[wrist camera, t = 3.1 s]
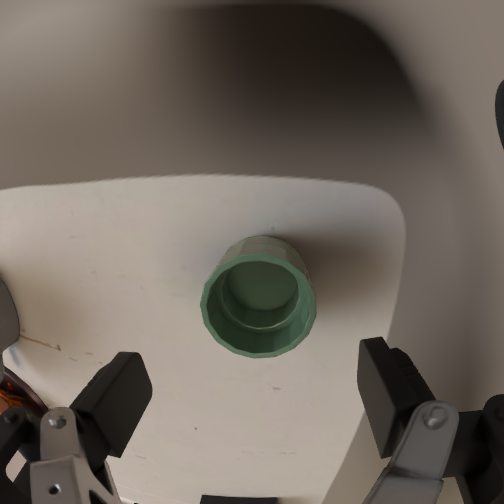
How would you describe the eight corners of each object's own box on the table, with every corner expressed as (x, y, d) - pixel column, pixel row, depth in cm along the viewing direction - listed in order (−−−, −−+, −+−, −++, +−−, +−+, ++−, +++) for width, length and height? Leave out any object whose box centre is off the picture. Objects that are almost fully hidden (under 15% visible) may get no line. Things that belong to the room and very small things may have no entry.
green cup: (302, 229, 18) (312, 247, 14) (309, 313, 20) (318, 353, 15) (212, 239, 19) (191, 260, 14) (226, 320, 20) (212, 360, 16)
